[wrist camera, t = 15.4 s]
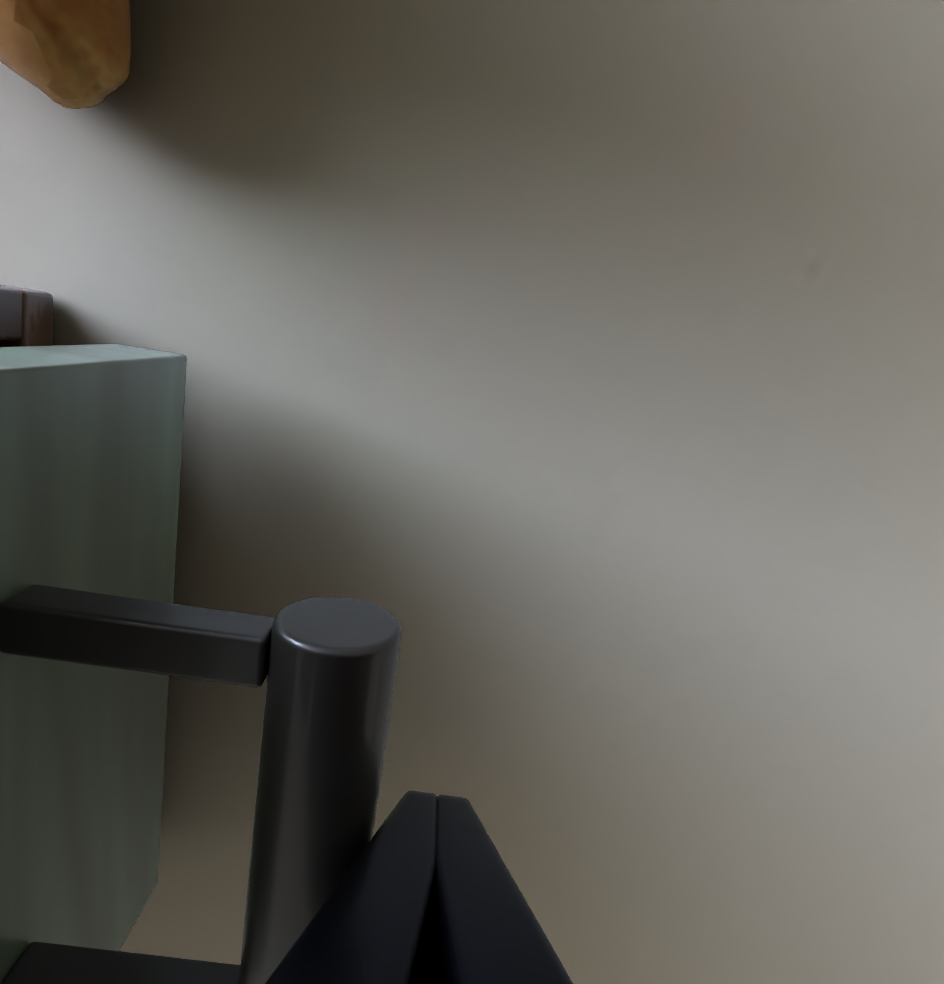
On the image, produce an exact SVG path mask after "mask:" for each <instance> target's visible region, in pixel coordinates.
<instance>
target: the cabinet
mask: <svg viewBox="0 0 944 984" xmlns="http://www.w3.org/2000/svg"><path fill="white" fill-rule="evenodd" d="M52 334H53V297H52V295H51V294H49V293H47V292H41V291H35V290H29V289H23V288H16V287H10V286H4V285H0V347H26V346H52Z"/></svg>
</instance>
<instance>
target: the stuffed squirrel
mask: <svg viewBox="0 0 944 984" xmlns="http://www.w3.org/2000/svg"><path fill="white" fill-rule="evenodd" d="M130 32H131V18H130V3H129V0H0V61H1V62H2V63H4V64H5V65H6V66H8V67H9V68H10V69H11V70H13V71H14V72H15V73H17V74H18V75H20V76H21V77H23V78H24V79H26V80H27V81H29V82H30V83H32V84H33V85H35V86H36V87H38V88H39V89H40V90H41V91H43V92H44V93H45V94H46V95H47V96H48V97H50V98H51V99H52V100H53V101H54V102H56V103H58V104H60V105H62V106H63V107H66V108H73V109H79V108H90V107H92V106H95V105H97V104H99V103H100V102H102V101H103V99H104V98H105V97H106V95H108V94H110V93H111V92H113V91H114V90H115V89H117V88H118V87H119V86H120V85H121V84H122V83H124V82H125V81H126V80H127V78H128V75H129V69H130V56H131V40H130Z"/></svg>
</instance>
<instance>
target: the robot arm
mask: <svg viewBox="0 0 944 984" xmlns="http://www.w3.org/2000/svg"><path fill="white" fill-rule="evenodd" d="M265 984H573V983H572V981H571V979H570V977H569V976H568V974H567V972H566V970H565V968H564V967H563V965H562V963H561V961H560V960H559V958H558V956H557V954H556V953H555V951H554V949H553V947H552V946H551V944H550V942H549V940H548V939H547V937H546V935H545V933H544V932H543V930H542V928H541V926H540V925H539V923H538V921H537V919H536V918H535V916H534V914H533V912H532V911H531V909H530V907H529V905H528V904H527V902H526V900H525V898H524V897H523V895H522V893H521V891H520V890H519V888H518V886H517V884H516V883H515V881H514V879H513V877H512V876H511V874H510V872H509V870H508V869H507V867H506V865H505V863H504V862H503V860H502V858H501V856H500V855H499V853H498V851H497V849H496V848H495V846H494V844H493V842H492V841H491V839H490V837H489V835H488V834H487V832H486V830H485V828H484V827H483V825H482V823H481V821H480V820H479V818H478V816H477V814H476V813H475V811H474V809H473V807H472V806H471V804H470V802H469V801H468V800H467V799H466V798H463V797H456V796H448V795H438V796H436V795H435V794H433V793H426V792H418V791H408V792H406V793H405V794H404V796H403V797H402V798H401V800H400V801H399V802H398V804H397V805H396V806H395V808H394V809H393V811H392V812H391V813H390V815H389V816H388V817H387V819H386V820H385V821H384V823H383V824H382V825H381V827H380V828H379V829H378V831H377V832H376V834H375V835H374V836H373V838H372V839H371V840H370V842H369V843H368V844H367V846H366V847H365V848H364V850H363V851H362V852H361V854H360V855H359V857H358V858H357V859H356V861H355V862H354V863H353V865H352V866H351V867H350V869H349V870H348V871H347V873H346V874H345V875H344V877H343V878H342V880H341V881H340V882H339V884H338V885H337V886H336V888H335V889H334V890H333V892H332V893H331V894H330V896H329V897H328V898H327V900H326V901H325V903H324V904H323V905H322V907H321V908H320V909H319V911H318V912H317V913H316V915H315V916H314V917H313V919H312V920H311V921H310V923H309V924H308V926H307V927H306V928H305V930H304V931H303V932H302V934H301V935H300V936H299V938H298V939H297V940H296V942H295V943H294V945H293V946H292V947H291V949H290V950H289V951H288V953H287V954H286V955H285V957H284V958H283V959H282V961H281V962H280V963H279V965H278V966H277V968H276V969H275V970H274V972H273V973H272V974H271V976H270V977H269V978H268V980H267V981H266V982H265Z"/></svg>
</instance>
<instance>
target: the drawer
mask: <svg viewBox="0 0 944 984" xmlns="http://www.w3.org/2000/svg"><path fill="white" fill-rule="evenodd" d="M186 362H187V358H186V356H185V355H183V354H177V353H170V352H164V351H158V350H151V349H145V348H138V347H132V346H126V345H119V344H93V345H59V346H26V347H0V984H265V982H266V981H267V980H268V978H269V977H270V976H271V974H272V973H273V972H274V970H275V969H276V968H277V966H278V965H279V963H280V962H281V961H282V959H283V958H284V957H285V955H286V954H287V953H288V951H289V950H290V949H291V947H292V946H293V945H294V943H295V942H296V940H297V939H298V938H299V936H300V935H301V934H302V932H303V931H304V930H305V928H306V927H307V926H308V924H309V923H310V921H311V920H312V919H313V917H314V916H315V915H316V913H317V912H318V911H319V909H320V908H321V907H322V905H323V904H324V903H325V901H326V900H327V898H328V897H329V896H330V894H331V893H332V892H333V890H334V889H335V888H336V886H337V885H338V884H339V882H340V881H341V880H342V878H343V877H344V875H345V874H346V873H347V871H348V870H349V869H350V867H351V866H352V865H353V863H354V862H355V861H356V859H357V858H358V857H359V855H360V854H361V852H362V851H363V850H364V848H365V847H366V846H367V844H368V843H369V842H370V840H371V839H372V838H373V831H374V824H375V817H376V810H377V803H378V796H379V789H380V782H381V776H382V769H383V762H384V755H385V748H386V741H387V734H388V727H389V720H390V713H391V706H392V699H393V692H394V685H395V678H396V671H397V664H398V657H399V651H400V644H401V637H402V631H401V627H400V624H399V622H398V620H397V619H396V617H395V616H394V615H393V614H391V613H390V612H389V611H387V610H385V609H384V608H382V607H380V606H377V605H375V604H372V603H369V602H366V601H362V600H357V599H352V598H344V597H316V598H309V599H304V600H300V601H297V602H294V603H291V604H289V605H287V606H286V607H284V608H283V609H281V610H280V611H279V613H278V614H277V616H276V617H275V618H273V617H266V616H259V615H252V614H244V613H237V612H230V611H223V610H216V609H209V608H202V607H194V606H187V605H180V604H173V595H174V577H175V559H176V541H177V523H178V506H179V488H180V470H181V452H182V434H183V416H184V398H185V380H186ZM267 675H268V677H267ZM169 676H176V677H183V678H191V679H198V680H206V681H213V682H220V683H228V684H235V685H243V686H250V687H260V686H262V684H263V682H264V680H265V679H266V677H267V688H266V698H265V709H264V719H263V730H262V741H261V751H260V762H259V773H258V783H257V794H256V804H255V815H254V826H253V836H252V847H251V858H250V868H249V879H248V889H247V900H246V911H245V921H244V932H243V943H242V953H241V964H240V965H234V964H225V963H217V962H208V961H199V960H191V959H182V958H173V957H165V956H156V955H148V954H139V953H130V952H122V951H119V950H120V948H121V947H122V945H123V943H124V941H125V939H126V938H127V936H128V934H129V932H130V931H131V929H132V927H133V925H134V923H135V922H136V920H137V918H138V916H139V914H140V913H141V911H142V909H143V907H144V906H145V904H146V902H147V900H148V898H149V897H150V895H151V893H152V891H153V889H154V888H155V886H156V884H157V882H158V864H159V846H160V828H161V811H162V793H163V775H164V757H165V739H166V721H167V703H168V685H169Z"/></svg>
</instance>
